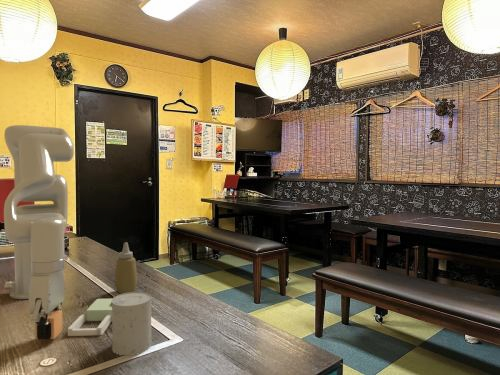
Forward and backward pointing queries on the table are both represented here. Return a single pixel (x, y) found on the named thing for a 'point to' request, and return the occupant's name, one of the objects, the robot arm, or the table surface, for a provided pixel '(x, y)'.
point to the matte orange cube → (54, 323)
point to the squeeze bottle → (125, 271)
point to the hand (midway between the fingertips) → (49, 332)
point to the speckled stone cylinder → (131, 323)
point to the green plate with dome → (93, 319)
